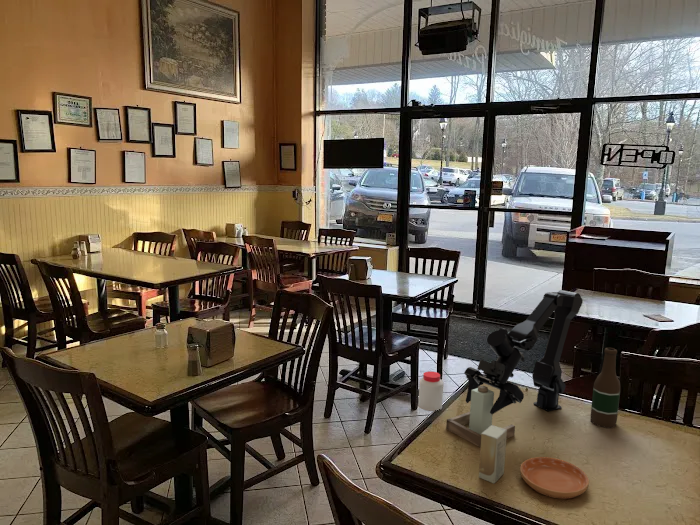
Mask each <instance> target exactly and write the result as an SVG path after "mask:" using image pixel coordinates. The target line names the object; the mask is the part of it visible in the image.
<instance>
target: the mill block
mask: <svg viewBox="0 0 700 525" xmlns="http://www.w3.org/2000/svg"><path fill="white" fill-rule="evenodd" d="M494 400H495V391H493V390H491V389H489V388H488V386H486V385H480V386H478V388H476V389H473V390H471V401H470V405H469V406H470V408H469V412H470V421H469V423H468V428H469V429H471V430H473V431H474V432H476V433H478V434H480V435H481V433H482V432H483V431H485V430H486V429H487V428H488V427H489V426H491V425H493V415H494V414H491V413H490V411H491V408H492V407H493V405H494V403H495V402H494Z"/></svg>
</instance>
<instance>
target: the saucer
mask: <svg viewBox="0 0 700 525" xmlns="http://www.w3.org/2000/svg"><path fill="white" fill-rule="evenodd" d="M519 470H520V475H521V476H520V477H521V478H522V479H523V480H524V482H525V483H526V484H527V485H528V486H529V487H530V488H531V489H533V490H534V491H536V492H537V493H540V494H541V495H544V496H547V497H550V498H554V499H559V500H560V499H561V500H563V499H566V500H567V499H573V498H575V497H578V496H580V495H583V494H584V493H585V492H586V491H587V490H588V488H589V484H590V480H589V477H588V475H587V474H586V473H585V471H583V469H581V468H580V467H579V466H577V465H575V464H573V463H570V462H568V461H566V460H562V459H561V458H560V459H559V458H555V457H549V456H548V457H547V456H546V457H545V456H537V457H531V458H528V459H526V460H524V461H523V462H522V463H521V464H520V468H519Z"/></svg>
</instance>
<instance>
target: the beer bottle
mask: <svg viewBox="0 0 700 525" xmlns="http://www.w3.org/2000/svg"><path fill="white" fill-rule="evenodd" d="M603 352H604V356H603V363H602V369H601V371H600V373H599V374H598V375H597V376H596V378H595V380H594V381H593V389H592V398H591V399H592V400H591V407H590V422H591V423H592V424H594V425H595V426H598V427H601V428H606V429H607V428H609V429H610V428H615V427H616V425H617V422H618V416H619V415H618V414H619V406H620V405H619V403H620V397H621V396H620V395H621V382H620V380H619V377H618V376H617V373H616V372H617V371H616V367H617V366H616V364H617V361H616V360H617V354H618V350H617V349H615V348H614V347H605V348H604V351H603Z"/></svg>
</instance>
